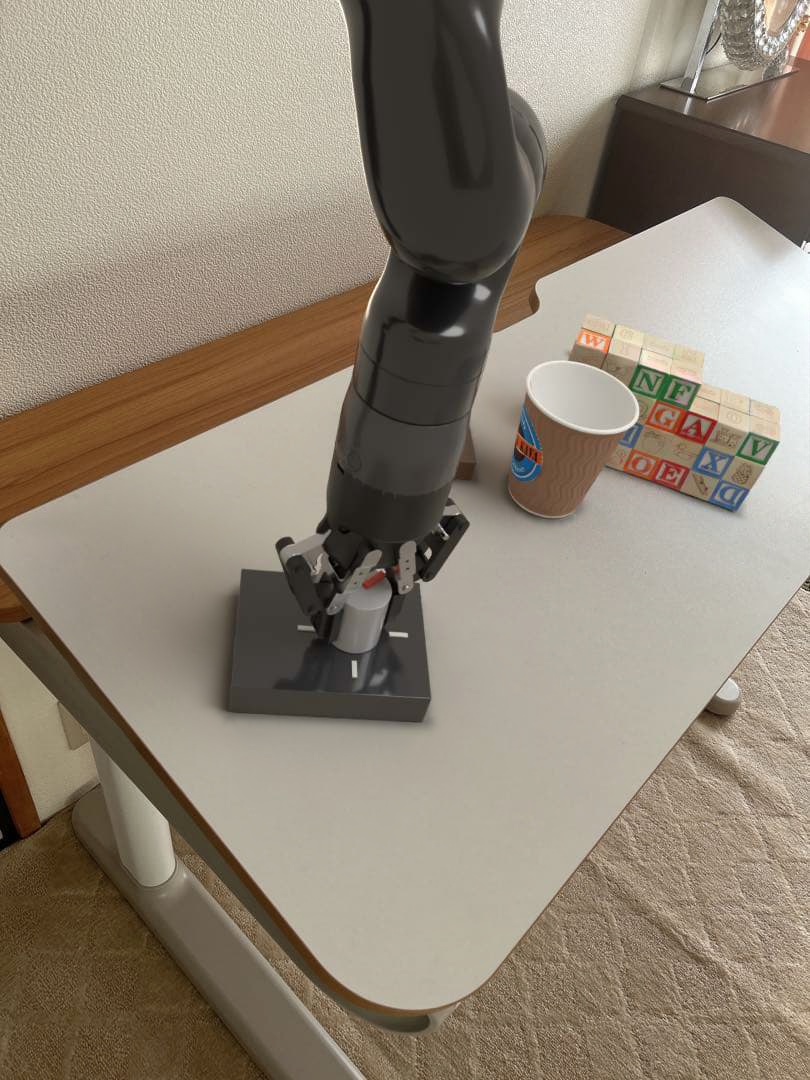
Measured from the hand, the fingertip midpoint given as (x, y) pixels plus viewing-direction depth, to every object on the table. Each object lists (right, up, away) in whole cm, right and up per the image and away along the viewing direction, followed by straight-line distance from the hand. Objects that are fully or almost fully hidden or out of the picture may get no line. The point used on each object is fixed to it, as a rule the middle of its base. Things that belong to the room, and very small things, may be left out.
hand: (353, 624), depth 65 cm
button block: (+5, +16, +23) cm, 28 cm away
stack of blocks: (+28, +14, +28) cm, 42 cm away
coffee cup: (+17, +10, +21) cm, 29 cm away
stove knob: (0, -1, +1) cm, 1 cm away
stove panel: (-2, -3, +2) cm, 4 cm away
